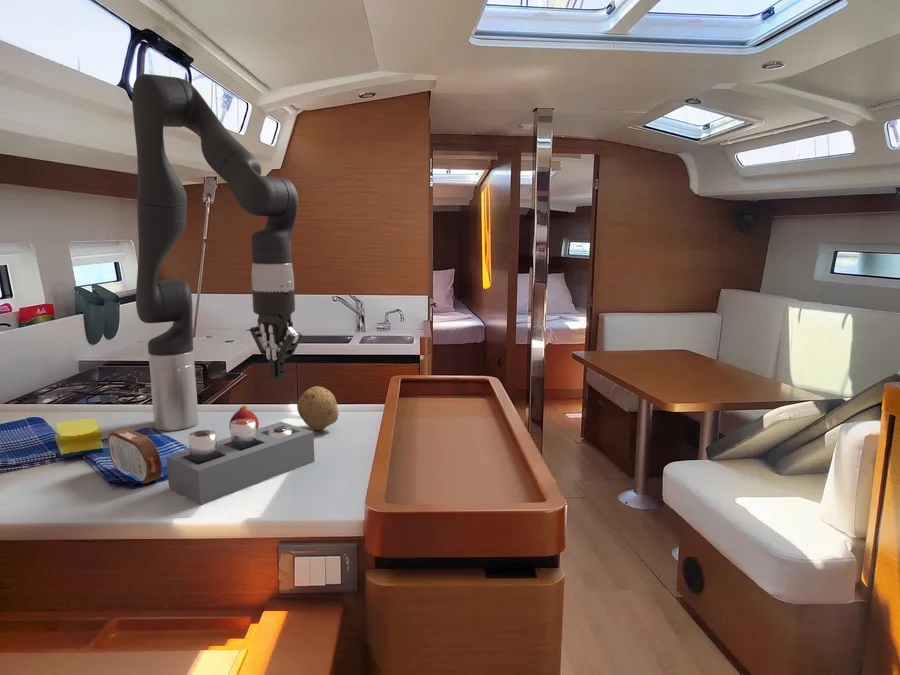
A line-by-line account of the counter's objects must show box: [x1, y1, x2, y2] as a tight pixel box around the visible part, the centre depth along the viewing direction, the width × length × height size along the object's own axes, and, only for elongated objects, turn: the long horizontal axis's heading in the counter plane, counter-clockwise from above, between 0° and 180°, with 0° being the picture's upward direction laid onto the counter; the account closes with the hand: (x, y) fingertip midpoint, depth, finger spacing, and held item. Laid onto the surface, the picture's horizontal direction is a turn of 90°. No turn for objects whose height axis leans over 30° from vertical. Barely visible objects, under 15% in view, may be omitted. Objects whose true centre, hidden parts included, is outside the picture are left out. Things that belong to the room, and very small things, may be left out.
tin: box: [107, 427, 163, 485], centre depth 109 cm, size 15×3×8 cm, turn 53°
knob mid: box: [229, 419, 257, 448], centre depth 110 cm, size 4×4×4 cm
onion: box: [228, 404, 260, 432], centre depth 127 cm, size 6×6×8 cm
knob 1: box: [187, 429, 218, 461], centre depth 103 cm, size 4×4×4 cm
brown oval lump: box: [296, 385, 340, 431], centre depth 135 cm, size 9×9×10 cm
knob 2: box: [268, 427, 292, 439], centre depth 117 cm, size 4×4×4 cm
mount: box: [165, 421, 315, 506], centre depth 111 cm, size 10×24×6 cm, turn 143°
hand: (277, 378), depth 114 cm, fingers closed
